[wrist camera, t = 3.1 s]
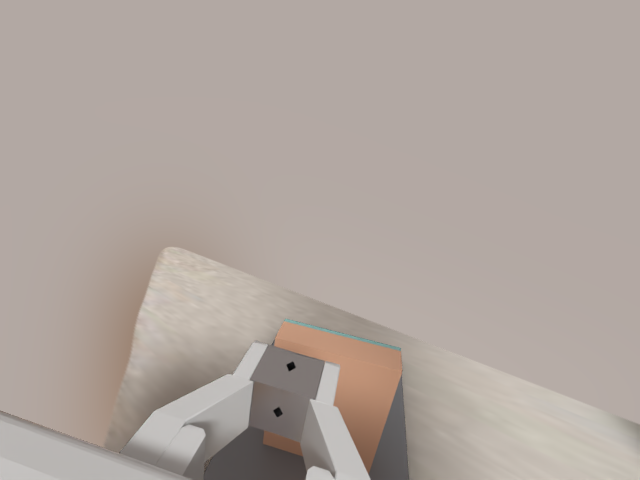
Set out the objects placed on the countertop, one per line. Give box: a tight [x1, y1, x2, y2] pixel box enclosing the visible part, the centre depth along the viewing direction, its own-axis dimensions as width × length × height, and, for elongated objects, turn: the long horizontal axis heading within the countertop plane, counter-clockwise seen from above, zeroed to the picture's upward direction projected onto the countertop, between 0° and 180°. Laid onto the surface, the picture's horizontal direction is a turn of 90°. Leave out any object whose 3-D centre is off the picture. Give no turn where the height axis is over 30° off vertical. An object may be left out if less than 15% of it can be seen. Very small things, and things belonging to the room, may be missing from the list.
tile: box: [263, 319, 402, 475], centre depth 21 cm, size 8×2×10 cm, turn 79°
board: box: [203, 340, 409, 480], centre depth 27 cm, size 14×18×2 cm
